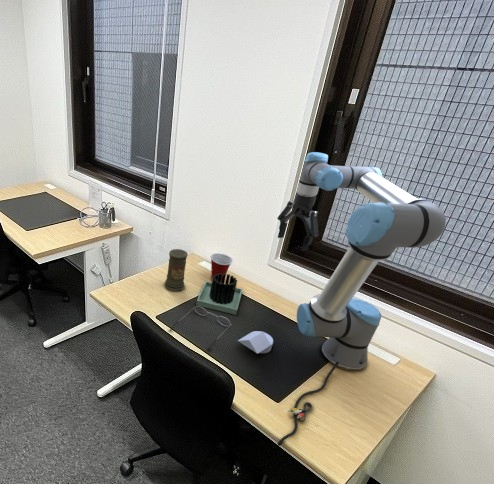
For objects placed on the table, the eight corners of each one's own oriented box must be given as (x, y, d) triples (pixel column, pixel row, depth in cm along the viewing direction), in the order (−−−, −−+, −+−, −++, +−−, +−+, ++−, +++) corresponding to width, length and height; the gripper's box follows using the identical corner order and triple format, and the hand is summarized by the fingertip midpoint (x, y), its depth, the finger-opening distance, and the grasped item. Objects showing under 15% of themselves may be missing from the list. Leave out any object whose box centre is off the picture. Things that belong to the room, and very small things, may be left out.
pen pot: (237, 301, 172) (218, 306, 168) (223, 289, 180) (204, 294, 176) (242, 282, 166) (222, 287, 162) (227, 271, 174) (208, 275, 171)
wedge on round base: (255, 360, 139) (275, 347, 146) (259, 346, 136) (280, 333, 143) (235, 347, 145) (256, 335, 152) (239, 333, 142) (259, 321, 149)
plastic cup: (223, 287, 183) (227, 265, 177) (203, 279, 188) (206, 258, 182) (232, 278, 190) (237, 257, 184) (212, 271, 196) (216, 250, 189)
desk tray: (236, 314, 164) (237, 309, 162) (196, 305, 169) (196, 300, 168) (241, 293, 179) (242, 289, 177) (204, 285, 184) (205, 280, 182)
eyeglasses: (231, 328, 156) (233, 320, 153) (208, 352, 143) (210, 344, 141) (193, 310, 165) (194, 303, 163) (169, 332, 153) (170, 324, 150)
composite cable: (306, 402, 123) (308, 397, 122) (319, 413, 120) (321, 407, 118) (286, 414, 119) (288, 408, 117) (298, 425, 115) (301, 420, 114)
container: (162, 282, 184) (165, 249, 175) (179, 280, 187) (183, 247, 177) (169, 292, 177) (173, 258, 168) (186, 290, 180) (191, 256, 170)
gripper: (339, 203, 140) (322, 255, 151) (290, 184, 159) (278, 231, 170) (324, 205, 137) (307, 257, 148) (276, 185, 157) (264, 233, 168)
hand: (291, 243), depth 159 cm, fingers open, 13 cm apart
